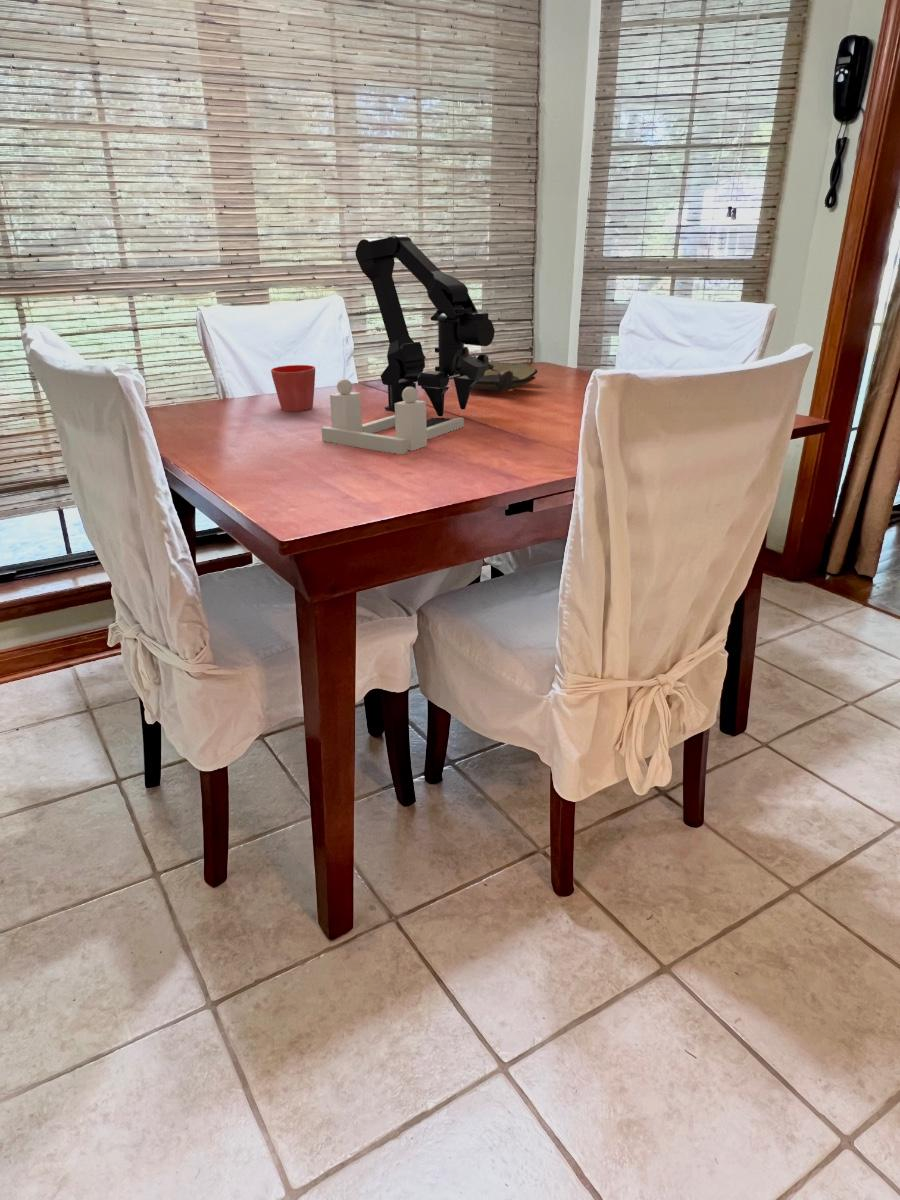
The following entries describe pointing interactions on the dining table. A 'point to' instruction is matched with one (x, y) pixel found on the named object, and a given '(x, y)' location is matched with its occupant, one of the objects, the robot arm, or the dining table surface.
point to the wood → (435, 421)
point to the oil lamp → (505, 376)
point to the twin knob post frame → (382, 423)
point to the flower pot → (294, 386)
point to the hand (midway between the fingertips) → (451, 412)
